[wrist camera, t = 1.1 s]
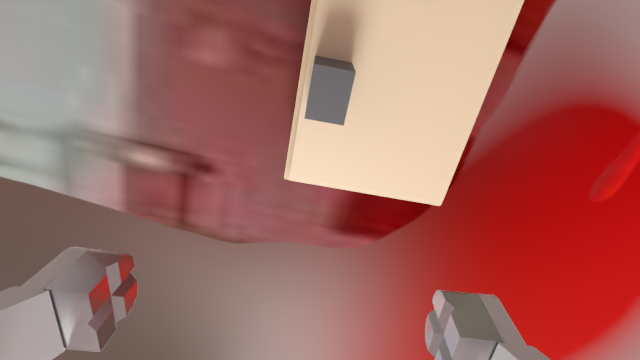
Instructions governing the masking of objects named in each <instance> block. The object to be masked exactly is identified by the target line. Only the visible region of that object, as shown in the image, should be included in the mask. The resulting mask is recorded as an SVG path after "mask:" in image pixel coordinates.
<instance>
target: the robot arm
mask: <svg viewBox="0 0 640 360" xmlns="http://www.w3.org/2000/svg"><path fill="white" fill-rule="evenodd" d="M134 267H135V264H134V259H133V256H131V255H130V254H127V253H120V252H113V251H105V250H98V249H89V248H81V247H71V248H67V249H66V250H65V251H63V252H62V253H61V254H60V255H59V256H57V257H56V258H55V259H54V260H53V261H51V262H50V263H49V264H48V265H46V266H45V267H44V268H43V269H41V270H40V271H39V272H38V273H37V274H36V275H34V276H33V277H32V278H31V279H29V280H28V281H27V282H26V283H24V284H23V285H22V286H21V287H11V288H8V289H6V290H3V291H0V360H52V359H53V358H55V357H56V356H58V355H59V354H61V353H62V352H64V351H65V349H72V350H83V351H95V352H101V351H102V349H103V348H104V346H105V345H106V344H107V342H108V341H109V339H110V338H111V337H112V335H113V334H114V333H115V331H116V323H115V322H117V321H119V320H120V319H122V318H124V317H126V316H127V315H128V313H129V312H130V310H131V309H132V307H133V305H134V302H135V299H136V297H137V288H138V287H137V280H136V279H135V278H134V277H133V276H132V274H131V273H130V272H131V271H132V270H133V268H134ZM432 302H433V305H434V308H435V309H434V310H433V311H432V312H430V313H429V314H428V316H427V320H426V324H425V339H426V344H427V348H428V351H429V352H430V353H431V354H432V355H433V356H434V357H435V360H550V359H549V358H548V357H546V356H545V355H544V354H542V353H541V352H540V351H538V350H537V349H536V348H534V347H533V346H527V345H526V343H525V342H524V340H523V339H522V337H521V335H520V333H519V332H518V330H517V328H516V327H515V325H514V324H513V322H512V320H511V319H510V317H509V315H508V313H507V312H506V310H505V308H504V307H503V305H502V303H501V302H500V300H499V299H498V298H497V297H496V296H495V295H487V294H476V293H475V294H471V293H461V292H453V291H444V290H437V291H436V293H435V294H434V297H433V300H432Z"/></svg>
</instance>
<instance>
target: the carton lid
mask: <svg viewBox="0 0 640 360" xmlns="http://www.w3.org/2000/svg"><path fill="white" fill-rule="evenodd" d="M523 2H524V0H318V2H317V9H316V15H315V21H314V27H313V33H312V39H311V45H310V52H309V58H308V64H307V70H306V76H305V82H304V89H303V95H302V101H301V107H300V113H299V119H298V125H297V132H296V138H295V144H294V150H293V156H292V162H291V169H290V175H289V180H290V181H296V182H302V183H308V184H314V185H319V186H325V187H331V188H337V189H343V190H349V191H355V192H361V193H366V194H372V195H378V196H384V197H390V198H396V199H402V200H408V201H413V202H419V203H425V204H431V205H437V206H441V204H442V201H443V199H444V197H445V194H446V192H447V189H448V187H449V185H450V182H451V180H452V177H453V175H454V172H455V170H456V167H457V165H458V162H459V160H460V157H461V155H462V152H463V150H464V148H465V145H466V143H467V140H468V138H469V135H470V133H471V130H472V128H473V125H474V123H475V120H476V118H477V115H478V113H479V111H480V108H481V106H482V103H483V101H484V98H485V96H486V93H487V91H488V88H489V86H490V83H491V81H492V78H493V76H494V74H495V71H496V69H497V66H498V64H499V61H500V59H501V56H502V54H503V51H504V49H505V46H506V44H507V42H508V39H509V37H510V34H511V32H512V29H513V27H514V24H515V22H516V19H517V17H518V14H519V12H520V9H521V7H522V5H523Z"/></svg>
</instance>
